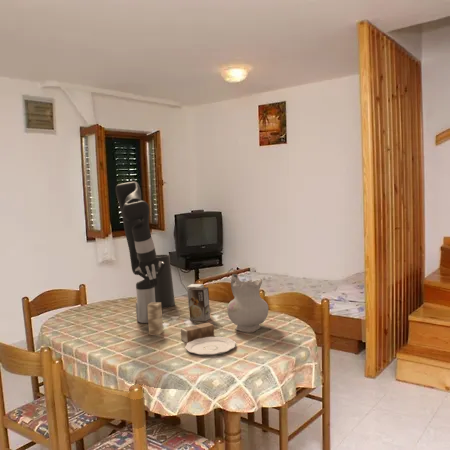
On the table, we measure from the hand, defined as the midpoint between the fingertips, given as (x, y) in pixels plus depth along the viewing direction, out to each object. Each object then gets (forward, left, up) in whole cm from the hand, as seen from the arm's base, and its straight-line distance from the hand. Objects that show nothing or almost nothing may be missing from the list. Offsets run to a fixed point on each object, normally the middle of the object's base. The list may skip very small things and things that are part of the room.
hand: (154, 285), depth 193 cm
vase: (-45, +56, -26) cm, 77 cm away
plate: (+22, +7, -27) cm, 35 cm away
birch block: (-13, +13, -26) cm, 32 cm away
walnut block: (+6, +10, -24) cm, 26 cm away
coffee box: (-7, +40, -26) cm, 49 cm away
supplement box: (-23, +59, -26) cm, 69 cm away
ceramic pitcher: (+22, +37, -26) cm, 51 cm away
